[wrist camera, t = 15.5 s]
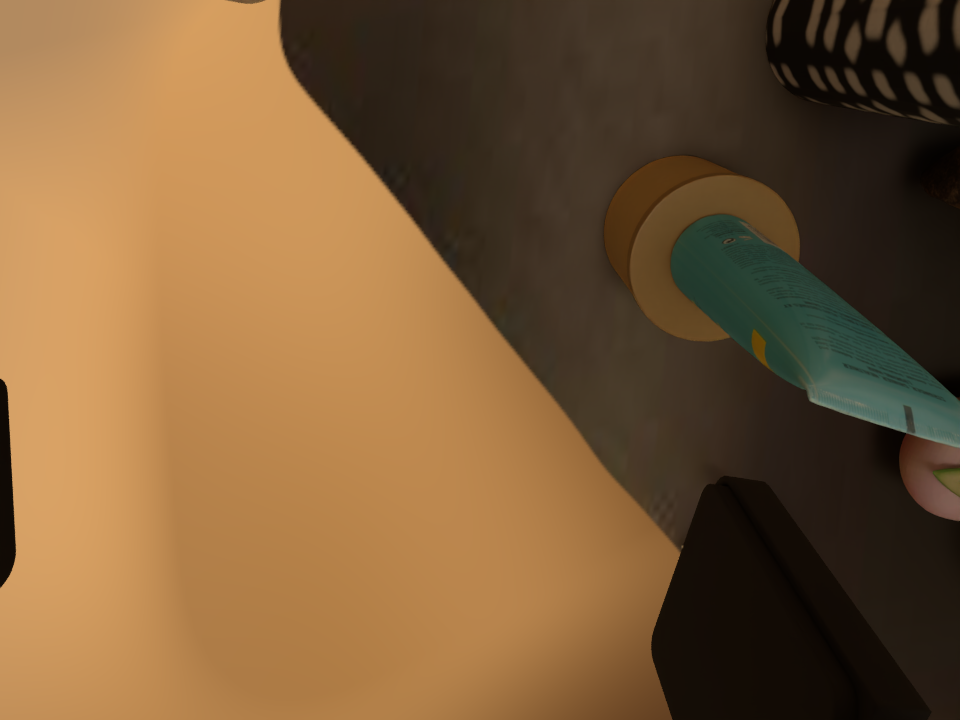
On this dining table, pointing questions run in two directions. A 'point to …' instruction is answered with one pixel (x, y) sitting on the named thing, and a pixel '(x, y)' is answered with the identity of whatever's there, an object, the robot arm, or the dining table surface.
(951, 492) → the decorative fruit
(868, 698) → the robot arm
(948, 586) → the dining table surface
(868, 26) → the black spotted cylinder
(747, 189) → the canister
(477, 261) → the dining table surface
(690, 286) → the tube
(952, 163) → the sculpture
